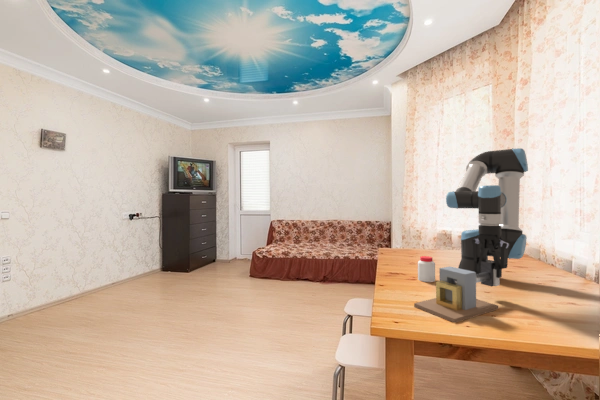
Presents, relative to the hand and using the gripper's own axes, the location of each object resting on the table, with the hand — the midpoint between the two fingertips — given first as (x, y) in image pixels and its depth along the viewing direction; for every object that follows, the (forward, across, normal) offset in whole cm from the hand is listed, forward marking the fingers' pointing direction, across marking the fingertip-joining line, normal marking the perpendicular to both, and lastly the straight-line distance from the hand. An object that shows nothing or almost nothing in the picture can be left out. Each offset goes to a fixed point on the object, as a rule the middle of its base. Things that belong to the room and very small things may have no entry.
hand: (490, 283), depth 116 cm
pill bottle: (+6, -30, 0) cm, 31 cm away
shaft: (0, 0, -9) cm, 9 cm away
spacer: (+4, 0, -25) cm, 25 cm away
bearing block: (+6, 0, -20) cm, 21 cm away
